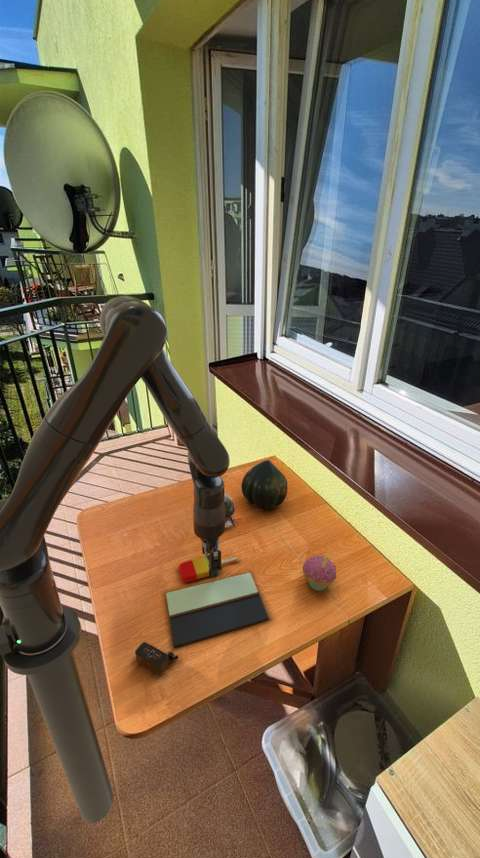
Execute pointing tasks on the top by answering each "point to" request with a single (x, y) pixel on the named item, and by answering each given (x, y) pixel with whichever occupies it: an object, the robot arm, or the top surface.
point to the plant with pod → (229, 511)
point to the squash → (264, 485)
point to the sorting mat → (214, 608)
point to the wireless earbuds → (153, 658)
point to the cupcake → (319, 572)
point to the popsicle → (197, 568)
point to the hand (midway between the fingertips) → (209, 564)
